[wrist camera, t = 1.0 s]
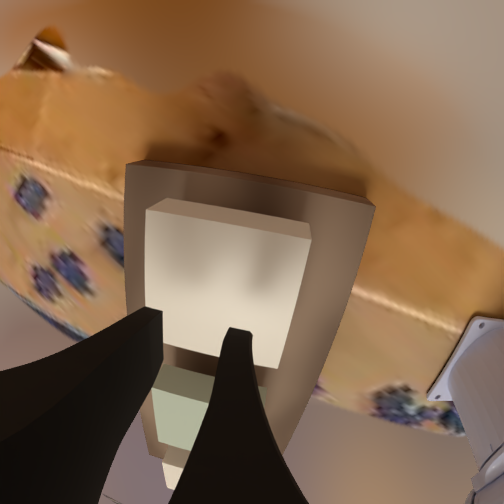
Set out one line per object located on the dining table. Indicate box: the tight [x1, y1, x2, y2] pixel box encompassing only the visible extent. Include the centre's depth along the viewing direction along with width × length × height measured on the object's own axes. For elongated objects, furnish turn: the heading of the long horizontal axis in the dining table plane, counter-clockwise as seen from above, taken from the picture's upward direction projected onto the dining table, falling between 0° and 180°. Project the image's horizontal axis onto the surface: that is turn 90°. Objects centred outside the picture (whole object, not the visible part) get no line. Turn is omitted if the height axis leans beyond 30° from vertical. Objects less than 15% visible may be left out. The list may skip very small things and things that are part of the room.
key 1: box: [145, 198, 312, 369], centre depth 12 cm, size 6×6×2 cm
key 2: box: [162, 445, 191, 490], centre depth 20 cm, size 6×6×2 cm
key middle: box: [151, 364, 267, 451], centre depth 16 cm, size 6×6×2 cm
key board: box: [124, 160, 376, 459], centre depth 19 cm, size 12×27×2 cm, turn 172°
